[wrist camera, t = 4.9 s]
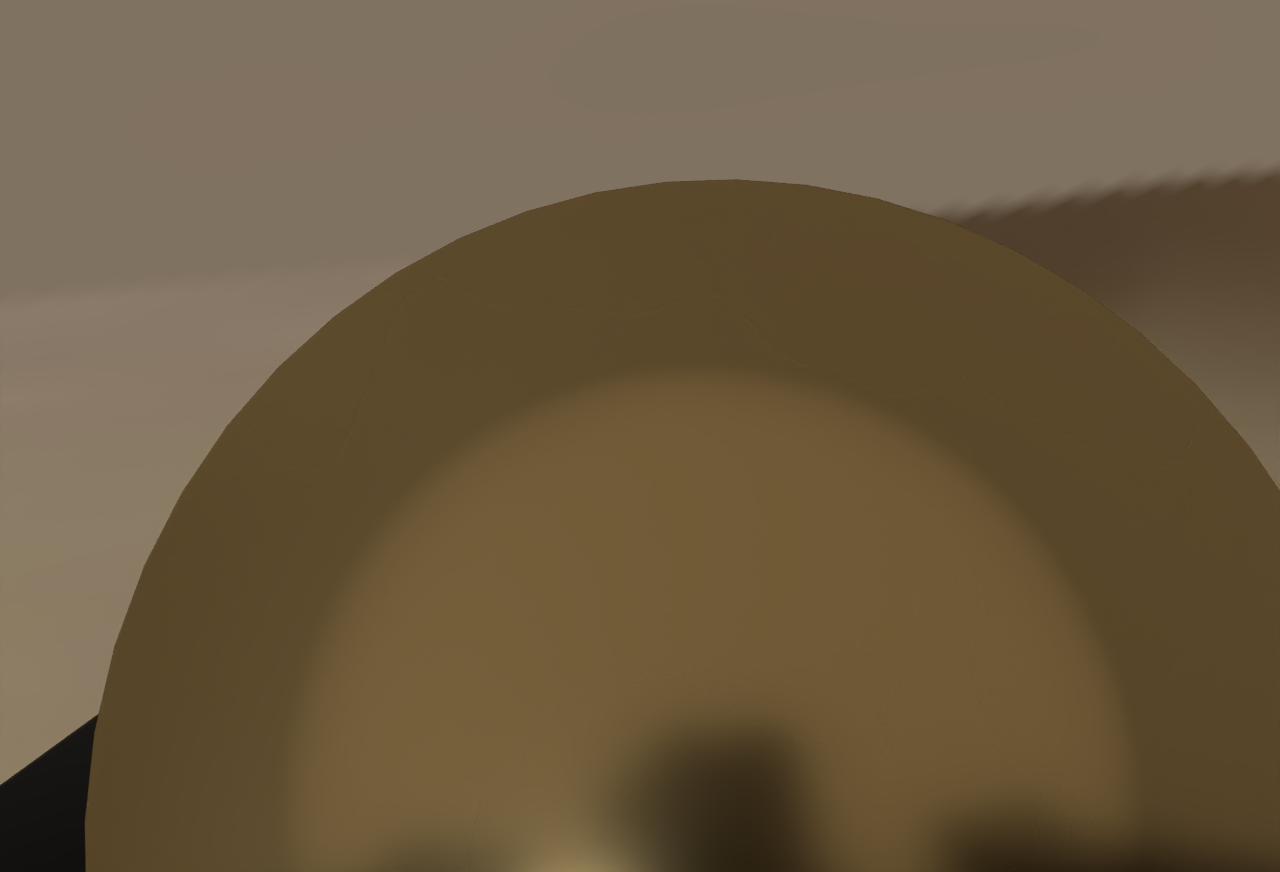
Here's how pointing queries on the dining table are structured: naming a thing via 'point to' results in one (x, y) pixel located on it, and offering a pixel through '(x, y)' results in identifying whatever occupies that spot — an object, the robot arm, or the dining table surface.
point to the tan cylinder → (708, 571)
